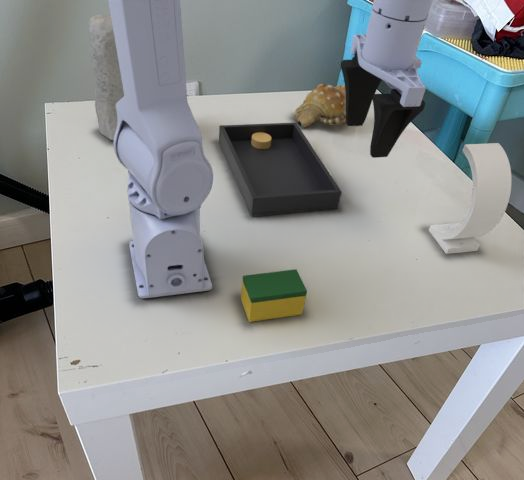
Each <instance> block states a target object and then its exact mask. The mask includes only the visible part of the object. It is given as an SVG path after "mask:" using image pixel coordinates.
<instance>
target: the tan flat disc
mask: <svg viewBox="0 0 524 480" xmlns="http://www.w3.org/2000/svg"><path fill="white" fill-rule="evenodd" d="M271 139H272V138H271V136H270V135H269V134H266V133H262V132H258V133H254V134H253V135H252V140H251V144H252V146H253V147H255V148H257V149H268V148H269V147H270V146H271Z"/></svg>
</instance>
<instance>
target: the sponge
mask: <svg viewBox="0 0 524 480" xmlns="http://www.w3.org/2000/svg"><path fill="white" fill-rule="evenodd" d="M307 293H308V290H307V288H306V286H305V284H304V281H303V280H302V277H301V276H300V273H299V272H298V270H297V269H296V268H295V269H287V270H278V271H271V272H270V271H269V272H261V273H252V274H246V275H243V276H242V281H241V293H240V301H241V304H242V307H243V309H244V312H245V315H246V318H247V320H248V323H251V322H260V321H266V320H275V319H279V318H287V317H295V316H301V315H303V312H304V308H305V302H306V300H307V299H306V298H307Z"/></svg>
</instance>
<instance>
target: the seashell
mask: <svg viewBox="0 0 524 480" xmlns="http://www.w3.org/2000/svg"><path fill="white" fill-rule="evenodd" d="M293 118H294V121H296V123H297V124H301V125H300V126H301V127H305V128H306V127H308V126H311V125H313V124H314V123H317V122H322V123H323V124H324V125H329V126H339V125H344V124H345V123H346V92H345V84H343V85H341V84H337V86H333V85H331V84H327V85H326V84H325V83H320V84H318V85H317V86H316V87H314V88H313V89H312V90H311V91H310V92H308V93H307V95H306V96H305V98H304V99H303V102H302V103H301V104H300V105H299V106H298V107H297V108H296V109H295V111H294V116H293Z"/></svg>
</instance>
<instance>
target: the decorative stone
mask: <svg viewBox="0 0 524 480" xmlns="http://www.w3.org/2000/svg"><path fill="white" fill-rule="evenodd" d="M88 32H89V36H90V55H91V64H92V70H93V77H94V109H95V114H96V118H97V126H98V131H99V132H100V134H101V135H102V136H104V137H105V138H107V139H108V140H110V141H114V135H115V132H116V128H117V122H118V118H117V110H116V104H117V102H118V101H119V100H120V99H122V98H123V97H124V90H123V84H122V79H121V73H120V67H119V61H118V55H117V49H116V43H115V37H114V31H113V25H112V20H111V14H96V15H93V16H91V17H90V19H89V21H88Z"/></svg>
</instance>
